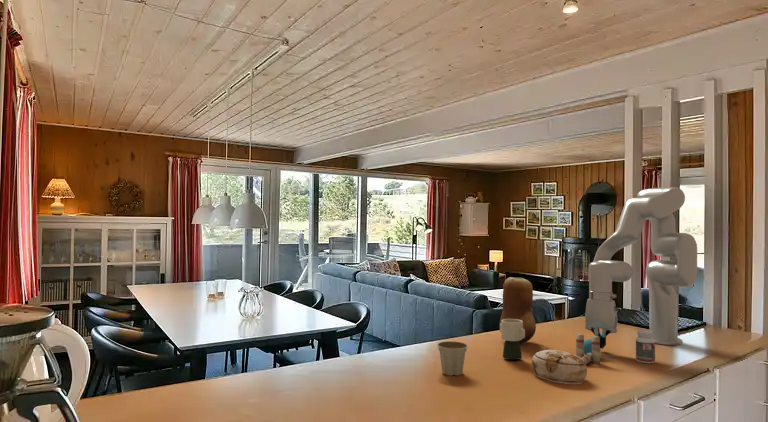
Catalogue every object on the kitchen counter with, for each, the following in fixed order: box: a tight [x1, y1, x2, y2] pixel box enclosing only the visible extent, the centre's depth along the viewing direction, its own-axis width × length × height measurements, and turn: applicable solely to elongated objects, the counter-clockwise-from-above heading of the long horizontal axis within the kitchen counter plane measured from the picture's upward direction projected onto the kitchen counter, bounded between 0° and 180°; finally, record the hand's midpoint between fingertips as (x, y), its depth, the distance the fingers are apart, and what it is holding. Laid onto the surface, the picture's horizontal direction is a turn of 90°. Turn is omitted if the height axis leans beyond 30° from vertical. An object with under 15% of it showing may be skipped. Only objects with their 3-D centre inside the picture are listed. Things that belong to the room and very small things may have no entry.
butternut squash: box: [498, 276, 537, 345], centre depth 189 cm, size 14×13×25 cm
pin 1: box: [575, 333, 585, 358], centre depth 165 cm, size 2×2×8 cm
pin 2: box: [591, 335, 601, 365], centre depth 161 cm, size 2×2×8 cm
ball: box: [584, 338, 592, 356], centre depth 169 cm, size 6×6×6 cm
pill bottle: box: [635, 329, 656, 364], centre depth 163 cm, size 6×6×10 cm
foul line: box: [600, 353, 620, 359], centre depth 171 cm, size 1×14×1 cm, turn 52°
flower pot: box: [436, 340, 469, 377], centre depth 150 cm, size 9×9×9 cm
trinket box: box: [531, 349, 588, 385], centre depth 146 cm, size 13×15×8 cm
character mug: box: [499, 319, 525, 361], centre depth 166 cm, size 11×7×13 cm, turn 32°
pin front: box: [581, 353, 592, 366], centre depth 161 cm, size 2×2×8 cm
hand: (601, 347), depth 175 cm, fingers closed
